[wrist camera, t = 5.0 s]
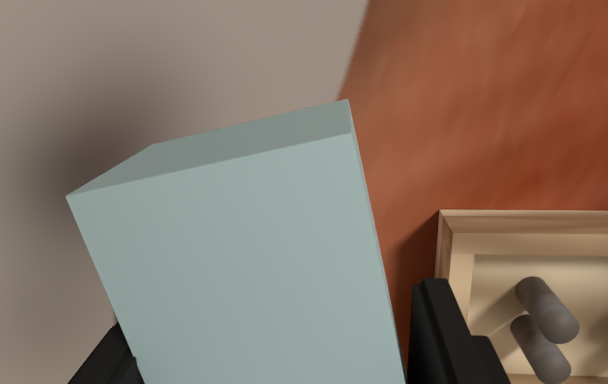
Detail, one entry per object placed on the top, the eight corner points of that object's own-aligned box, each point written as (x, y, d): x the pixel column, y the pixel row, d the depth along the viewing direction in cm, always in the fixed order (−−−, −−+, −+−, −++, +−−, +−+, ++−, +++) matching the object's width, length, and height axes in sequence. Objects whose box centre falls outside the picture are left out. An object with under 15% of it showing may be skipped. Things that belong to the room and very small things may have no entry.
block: (152, 144, 10) (65, 196, 7) (347, 98, 10) (351, 132, 7) (267, 472, 13) (243, 615, 10) (423, 454, 13) (452, 601, 10)
